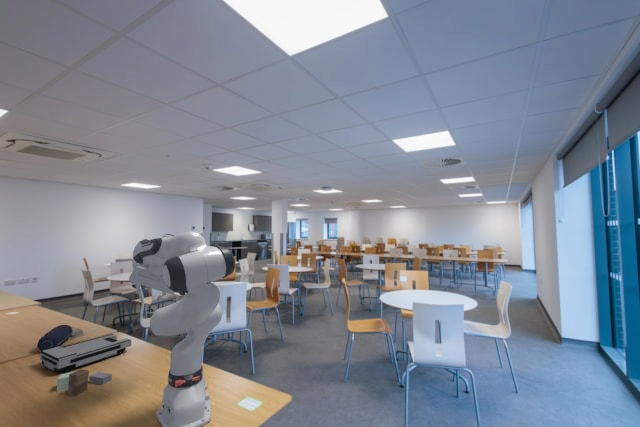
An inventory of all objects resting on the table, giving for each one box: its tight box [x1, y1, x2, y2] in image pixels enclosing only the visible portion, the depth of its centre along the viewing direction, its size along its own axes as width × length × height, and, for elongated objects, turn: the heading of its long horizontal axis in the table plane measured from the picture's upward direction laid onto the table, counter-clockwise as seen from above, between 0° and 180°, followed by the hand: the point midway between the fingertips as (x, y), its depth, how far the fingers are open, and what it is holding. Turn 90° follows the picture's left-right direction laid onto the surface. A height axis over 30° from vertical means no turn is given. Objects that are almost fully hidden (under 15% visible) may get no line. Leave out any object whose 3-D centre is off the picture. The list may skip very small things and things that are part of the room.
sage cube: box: [56, 371, 74, 392], centre depth 122 cm, size 5×5×5 cm
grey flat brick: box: [88, 371, 113, 386], centre depth 127 cm, size 8×4×3 cm, turn 76°
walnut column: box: [67, 368, 90, 397], centre depth 118 cm, size 4×4×8 cm
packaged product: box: [66, 326, 86, 341], centre depth 186 cm, size 18×5×10 cm
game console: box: [39, 333, 132, 374], centre depth 150 cm, size 21×32×8 cm, turn 152°
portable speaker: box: [37, 324, 72, 351], centre depth 167 cm, size 25×10×10 cm, turn 25°
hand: (148, 296), depth 127 cm, fingers open, 8 cm apart
